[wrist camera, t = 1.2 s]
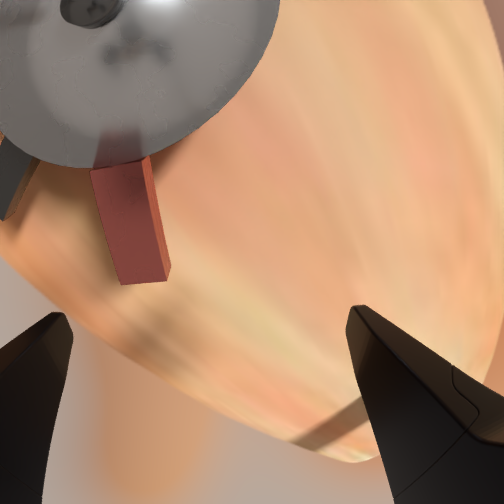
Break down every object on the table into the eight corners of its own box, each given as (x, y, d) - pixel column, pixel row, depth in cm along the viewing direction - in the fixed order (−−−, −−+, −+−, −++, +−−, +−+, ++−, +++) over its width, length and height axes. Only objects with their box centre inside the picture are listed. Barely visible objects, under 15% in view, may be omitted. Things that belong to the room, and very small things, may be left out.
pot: (184, -114, 8) (175, -152, 4) (342, -1, 14) (377, -24, 9) (-27, 133, 15) (-71, 149, 10) (94, 246, 20) (67, 286, 16)
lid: (-4, -42, 6) (-27, -50, 4) (261, -119, 6) (267, -143, 4) (39, 278, 16) (21, 302, 13) (291, 253, 16) (301, 280, 14)
